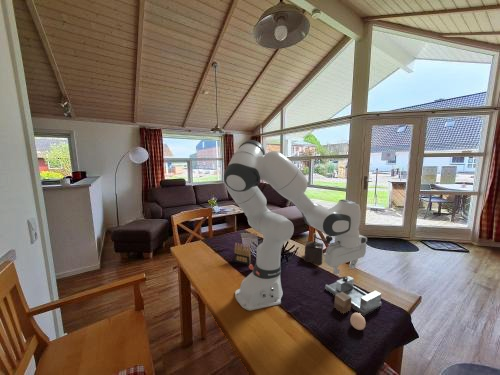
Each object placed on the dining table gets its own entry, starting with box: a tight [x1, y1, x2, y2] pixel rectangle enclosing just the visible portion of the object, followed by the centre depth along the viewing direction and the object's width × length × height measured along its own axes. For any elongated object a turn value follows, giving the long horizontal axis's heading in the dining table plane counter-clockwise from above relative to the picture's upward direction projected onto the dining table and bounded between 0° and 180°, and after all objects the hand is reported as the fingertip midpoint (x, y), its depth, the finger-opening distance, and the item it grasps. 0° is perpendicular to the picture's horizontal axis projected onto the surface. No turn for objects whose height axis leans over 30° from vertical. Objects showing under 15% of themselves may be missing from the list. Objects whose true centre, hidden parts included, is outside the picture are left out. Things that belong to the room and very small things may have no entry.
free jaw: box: [335, 275, 355, 293], centre depth 99 cm, size 9×2×6 cm, turn 118°
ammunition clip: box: [233, 242, 252, 266], centre depth 127 cm, size 11×2×12 cm, turn 65°
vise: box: [324, 281, 382, 317], centre depth 96 cm, size 12×20×6 cm, turn 28°
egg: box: [350, 312, 367, 331], centre depth 79 cm, size 5×5×6 cm
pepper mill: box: [303, 233, 334, 265], centre depth 130 cm, size 16×11×18 cm
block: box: [333, 292, 352, 315], centre depth 89 cm, size 4×4×6 cm
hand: (344, 270), depth 88 cm, fingers open, 8 cm apart
